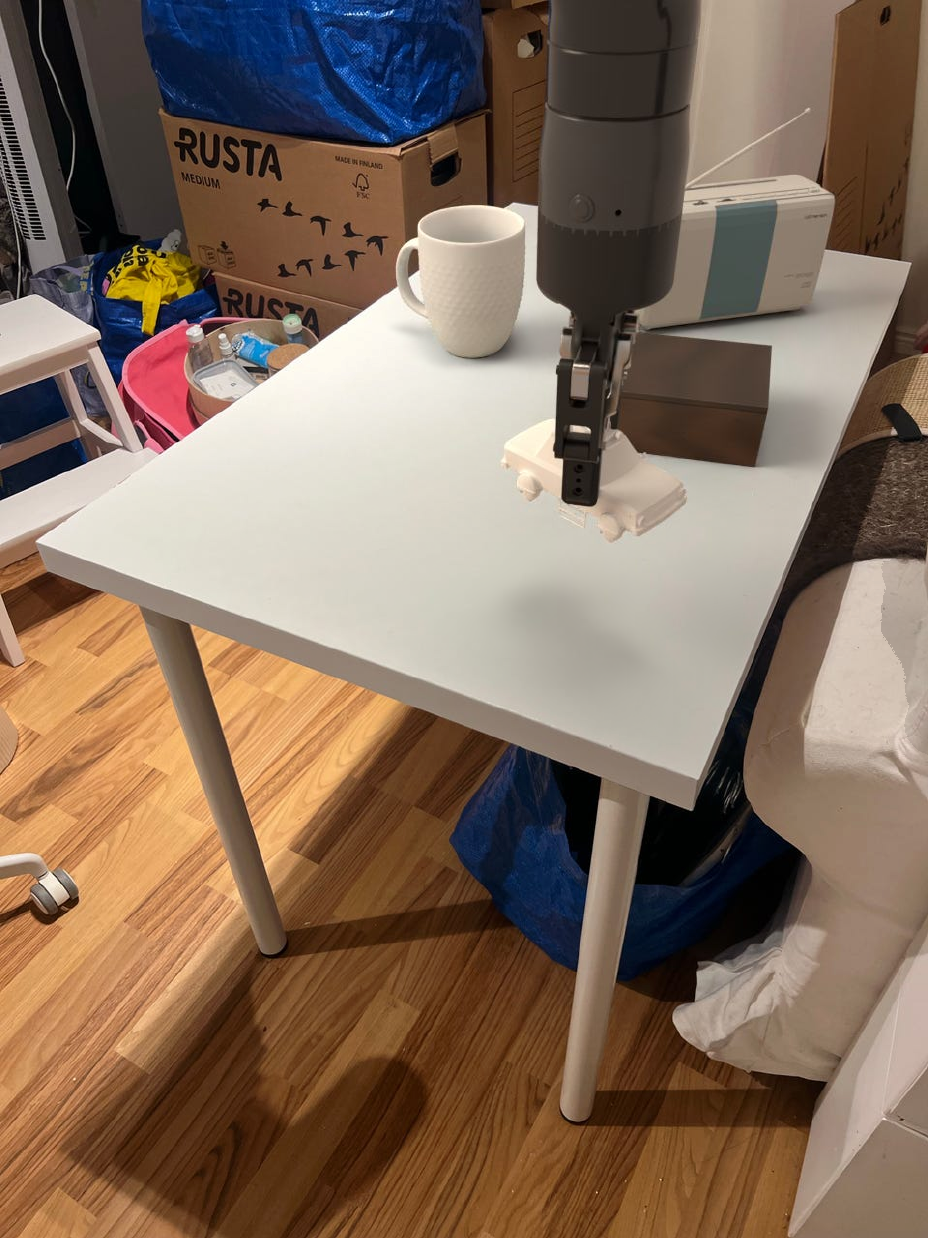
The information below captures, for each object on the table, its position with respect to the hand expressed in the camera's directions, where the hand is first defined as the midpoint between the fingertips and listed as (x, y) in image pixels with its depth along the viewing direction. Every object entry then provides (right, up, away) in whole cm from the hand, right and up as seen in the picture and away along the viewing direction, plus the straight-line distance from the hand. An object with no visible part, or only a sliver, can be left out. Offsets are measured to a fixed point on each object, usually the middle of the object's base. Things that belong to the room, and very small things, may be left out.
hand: (590, 467), depth 59 cm
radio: (+21, +26, +48) cm, 58 cm away
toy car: (0, -2, +2) cm, 3 cm away
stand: (+13, +9, +29) cm, 33 cm away
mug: (-8, +21, +43) cm, 49 cm away
